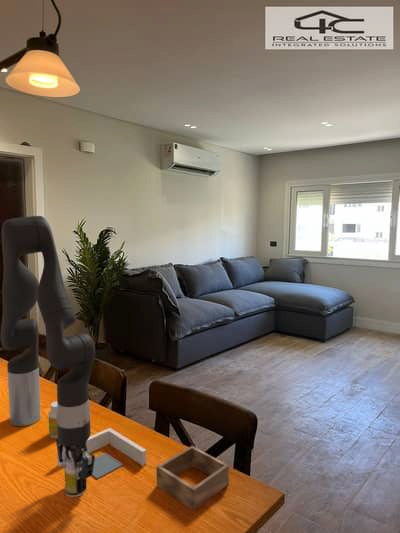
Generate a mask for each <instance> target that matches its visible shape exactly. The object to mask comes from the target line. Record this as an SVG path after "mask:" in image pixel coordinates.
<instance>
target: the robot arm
mask: <svg viewBox="0 0 400 533" xmlns="http://www.w3.org/2000/svg"><path fill="white" fill-rule="evenodd" d="M0 232H1V247H2V248H1V249H2V259H3V260H2V262H3V275H2V276H3V277H2V292H1V293H2V316H1V317H2V319H1V327H0V344H1V346H2V348H3V349H4V350H6V351H15V350H24V349H25V350H24V351H23V352H21V353H19V355H16V356H15V357H12V358H11V359H9V360H8V362H7V367H6V368H7V387H8V389H7V390H8V406H9V411H8V412H9V423H10V425H11V424H12V426H15V427H26V426H30V425H33V424H35V423H37V422H39V420H40V419H41V415H42V414H41V392H40V389H41V388H40V385H41V384H40V365H39V363H40V361H39V332H40V330H39V324H38V322H37V320H36V319H34V318H23V317H24V316H26V315H28V313H29V312H31V310H32V309H33V307H35V305H36V303H37V306H38V309H39V312H40V315H41V317H42V320H43V323H44V326H45V336H46V356H47V361H48V362H49V364H50V365H51V367H52V368H54V369H55V370H58V371H63V370H64V371H65V370H67V369H70V370H69V371H68V372H67V373H65V374H64V375H62V376H60V377H59V378H58V380H57V382H56V401H57V438H55V444H56V450H57V451H58V457H59V462H60V463H61V462H63V466H62V467H63V469H64V470H65V467H66V459H67V458H69V459H70V460H71V463H72V468H73V469H75V472H76V477H77V478H76V489H77V492H78V493H81V492H83V491H85V492H86V490H87V479H88V478H89V477H90V478H91V477H92V473H93V467H94V460H95V457H96V456H95V454H94V453H92V454H90V453H89V454H88V453H87V446H86V441H87V440H88V438H89V437H90V436H91V406H90V405H91V404H90V400H89V397H90V396H89V380H90V378H91V373H92V371H93V370H92V369H93V365H94V362H95V358H96V357H95V356H96V346H95V342H94V339H93V338H92V337H91V336H90V335H89V334H87V333H83V332H82V333H77V334H73V335H72V334H71V335H69V336H64V330H66V329H68V328H70V327H71V326H73V325H74V324H75V322H76V320H77V317H76V314H75V311H74V308H73V306H72V303H71V301H70V297H69V295H68V292H67V289H66V287H65V283H64V280H63V275H62V270H61V266H60V261H59V255H58V252H57V247H56V243H55V239H54V236H53V232H52V229H51V226H50V223H49V222H48V219H46V218H45V217H44V216H43V215H42V216H41V215H32V216H22V217H15V218H10V219H6V220H4V222H3V223H2V226H1V231H0ZM38 253H41V255H42V258H43V268H42V273H41V276H40V280H38V278H37V276H36V275H35V273H33V272H32V270H30V269H29V268H28V267H27V266H26V265H24V263H23V262H22V261H21V259H20V257H21V256H25V255H31V254H38ZM22 318H23V319H22ZM57 451H56V452H57ZM62 452H63V455H62ZM80 461H81V463H79V464H76V463H77V462H80ZM81 467H82V468H81ZM80 468H81V472H80V470H79V469H80Z"/></svg>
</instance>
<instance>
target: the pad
mask: <svg viewBox="0 0 400 533" xmlns="http://www.w3.org/2000/svg"><path fill="white" fill-rule="evenodd" d="M123 466H124V463H122V462H121V461H119V460H117V459H116V458H115V457H114V456H112V455H110V454H108V453H107V452H103V453H101V454H100V455H97V456H95V460H94V467H93V473H92V476H93V478H95V479H96V480H98V479H101V478H102V477H105V476H106V475H108V474H110V473H111V472H113V471H115V470H117V469H119V468H121V467H123ZM92 476H91V477H92Z"/></svg>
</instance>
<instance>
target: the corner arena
mask: <svg viewBox="0 0 400 533" xmlns="http://www.w3.org/2000/svg"><path fill="white" fill-rule="evenodd" d="M107 445H110V446H111V447H113V448H115V449H116V450H117V451H119V452H121V453H122V454H123V455H126V456H127V457H128V458H130V459H132V460H133V461H134V462H136V463H138V464H139V465H141V466H142V467H143V466H145V465H147V449H146V448H144V447H142V446H140V445H139V444H137V443H135V442H134V441H132V440H130V439H129V438H128V437H126V436H124V435H122V434H120V433H119V432H117V431H116V430H114V429H113V428H111V427H109V428H106V429H104V430H101V431H100V432H97V433H95V434H93V435H90V437H89V438H88V440H87V441H86V446H87V453H88V454H89V455H90V453H93V452H95V451H96V450H99V449H102V448H104V447H105V446H107ZM62 455H63V452H62ZM56 460H57V461H56V462H57V464H56V465H57V466H58V467H59V468H61V467H63V462H61V463H60V462H59V457H58V451H56Z"/></svg>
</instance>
